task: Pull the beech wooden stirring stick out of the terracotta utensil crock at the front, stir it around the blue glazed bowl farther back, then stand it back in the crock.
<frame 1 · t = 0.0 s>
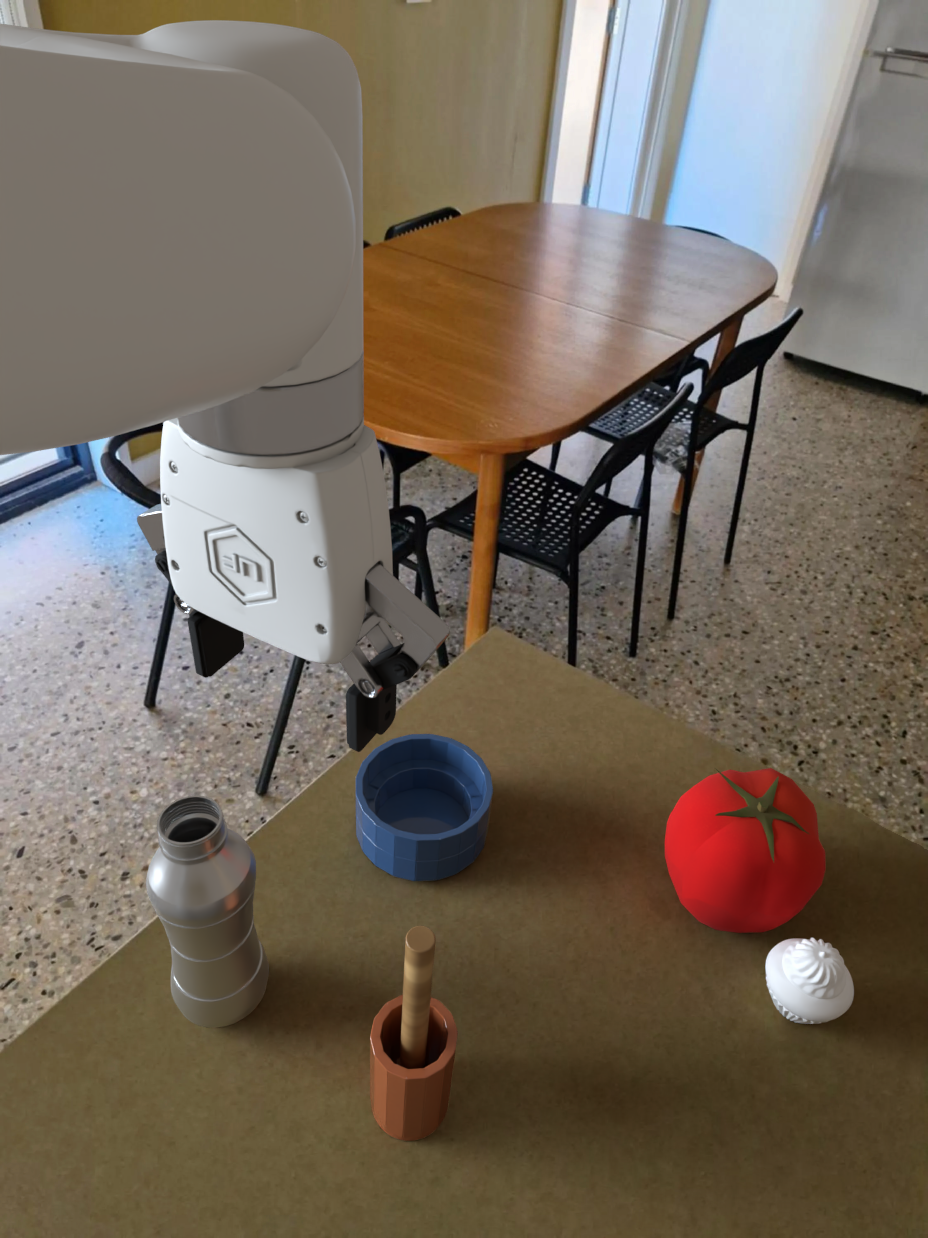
hand: (293, 696, 47), 29 cm above the counter, tool pointing down, fingers open, 9 cm apart
tomato: (725, 889, 74), on the counter
crock: (409, 1099, 59), on the counter
muffin: (793, 1004, 67), on the counter
stirring stick: (410, 1095, 59), point 1 cm above the counter, touching crock
bowl: (421, 829, 76), on the counter
silver metal bottle: (224, 996, 64), on the counter
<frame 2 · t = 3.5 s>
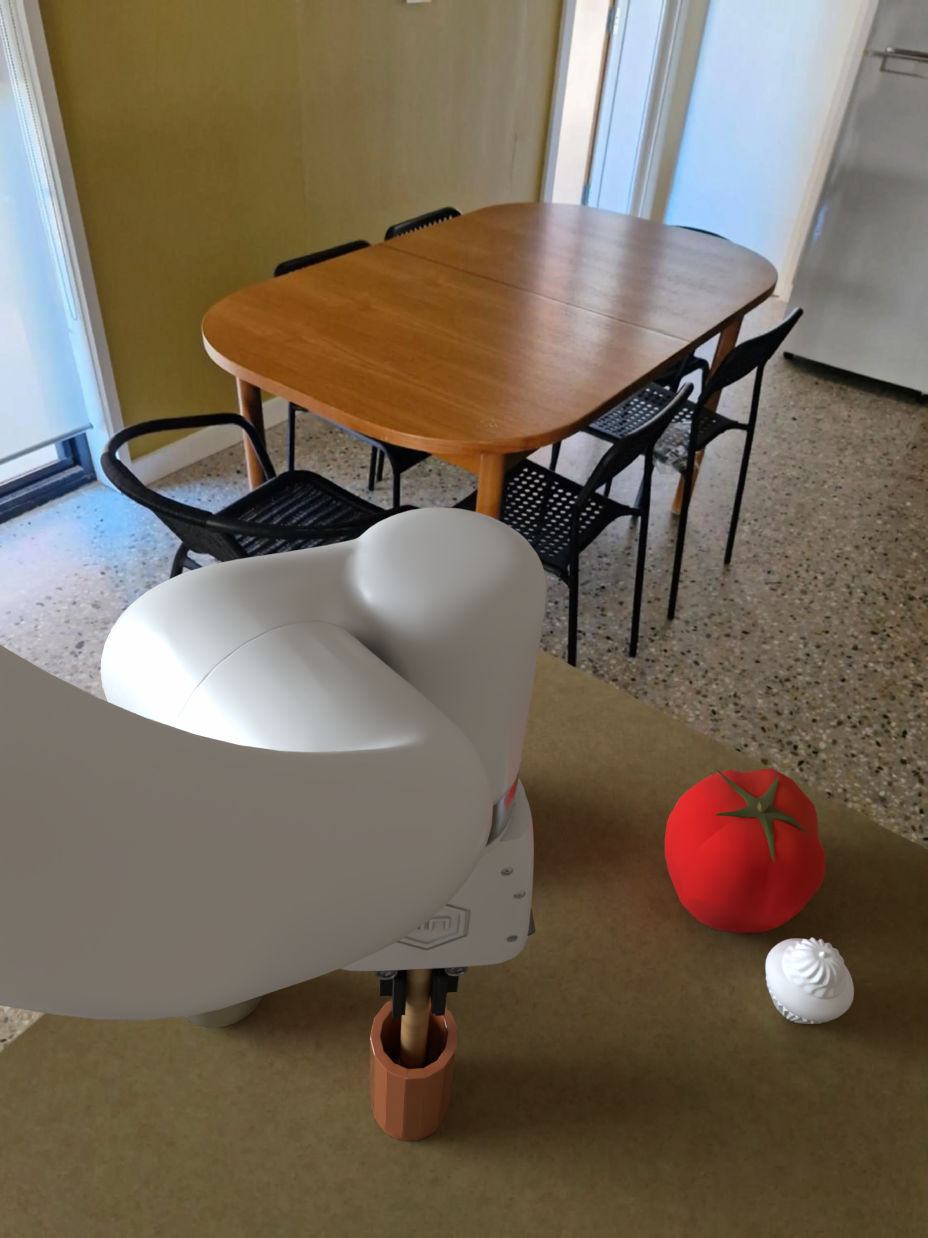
hand: (417, 991, 50), 14 cm above the counter, tool pointing down, fingers closed on stirring stick, 1 cm apart
stirring stick: (410, 1095, 59), point 1 cm above the counter, touching crock, gripper
everything else where it was.
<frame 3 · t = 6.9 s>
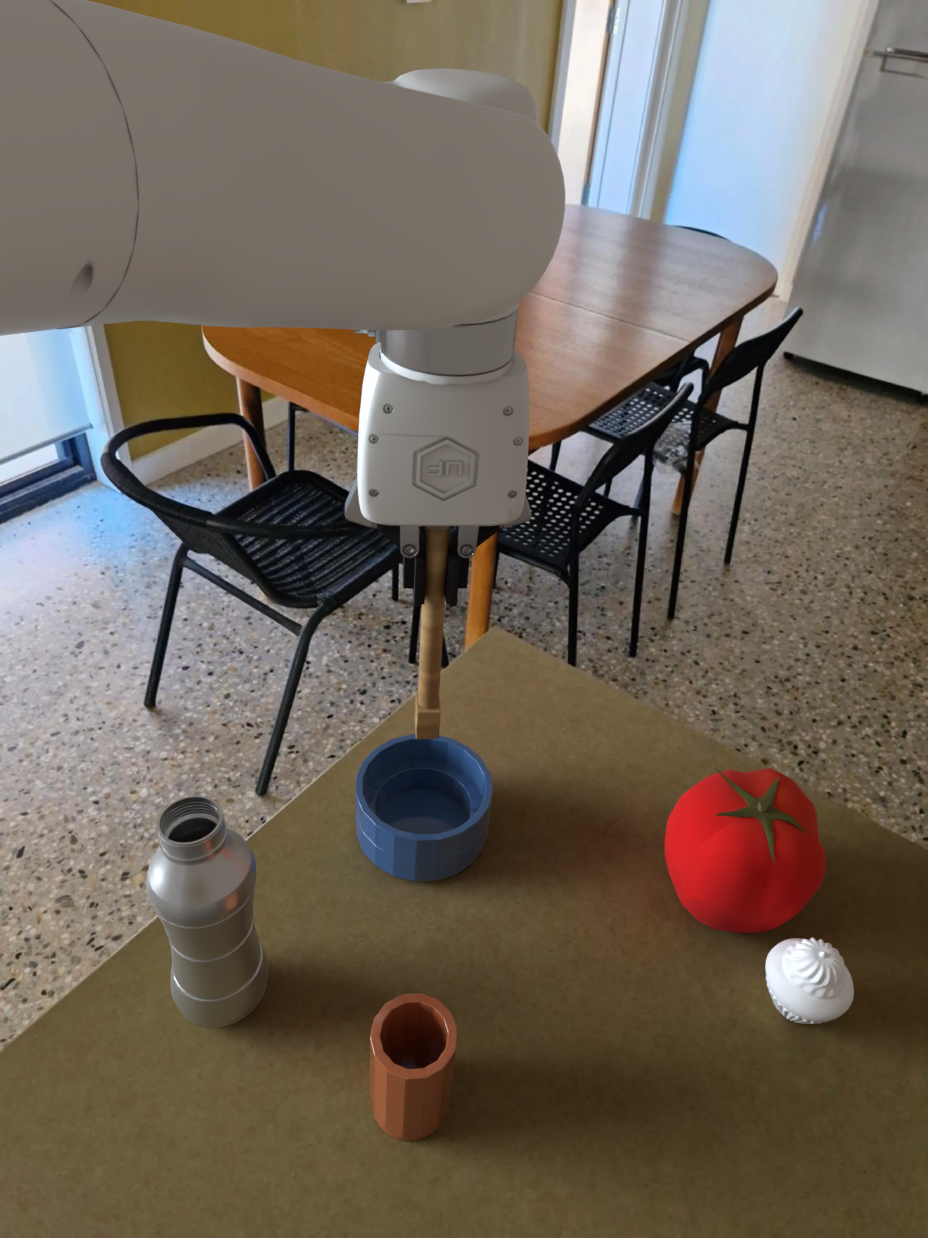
hand: (434, 592, 61), 25 cm above the counter, tool pointing down, fingers closed on stirring stick, 1 cm apart
stirring stick: (426, 729, 69), point 12 cm above the counter, touching gripper
everything else where it was.
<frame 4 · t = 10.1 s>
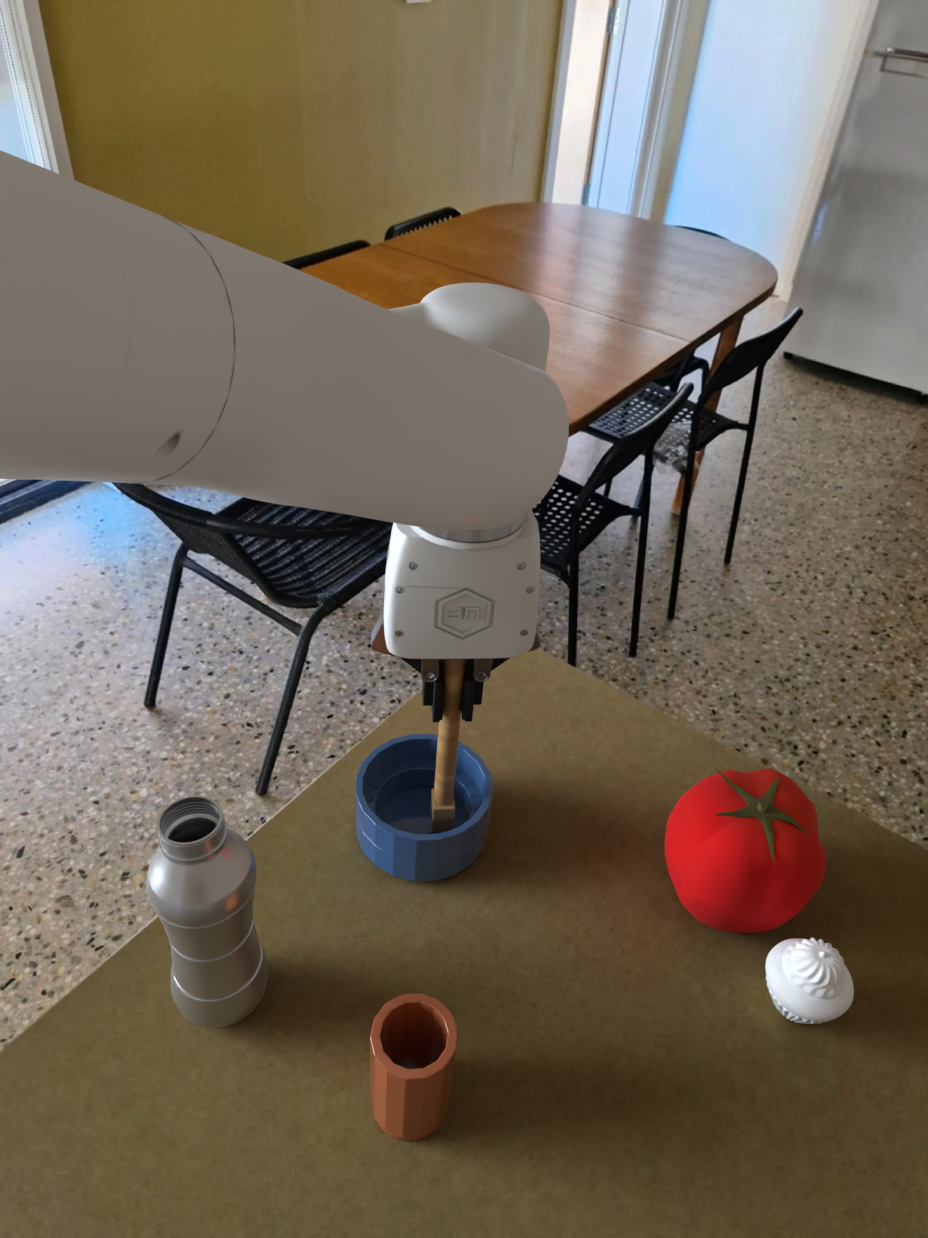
hand: (450, 707, 66), 15 cm above the counter, tool pointing down, fingers closed on stirring stick, 1 cm apart
stirring stick: (441, 821, 75), point 2 cm above the counter, touching gripper
everything else where it was.
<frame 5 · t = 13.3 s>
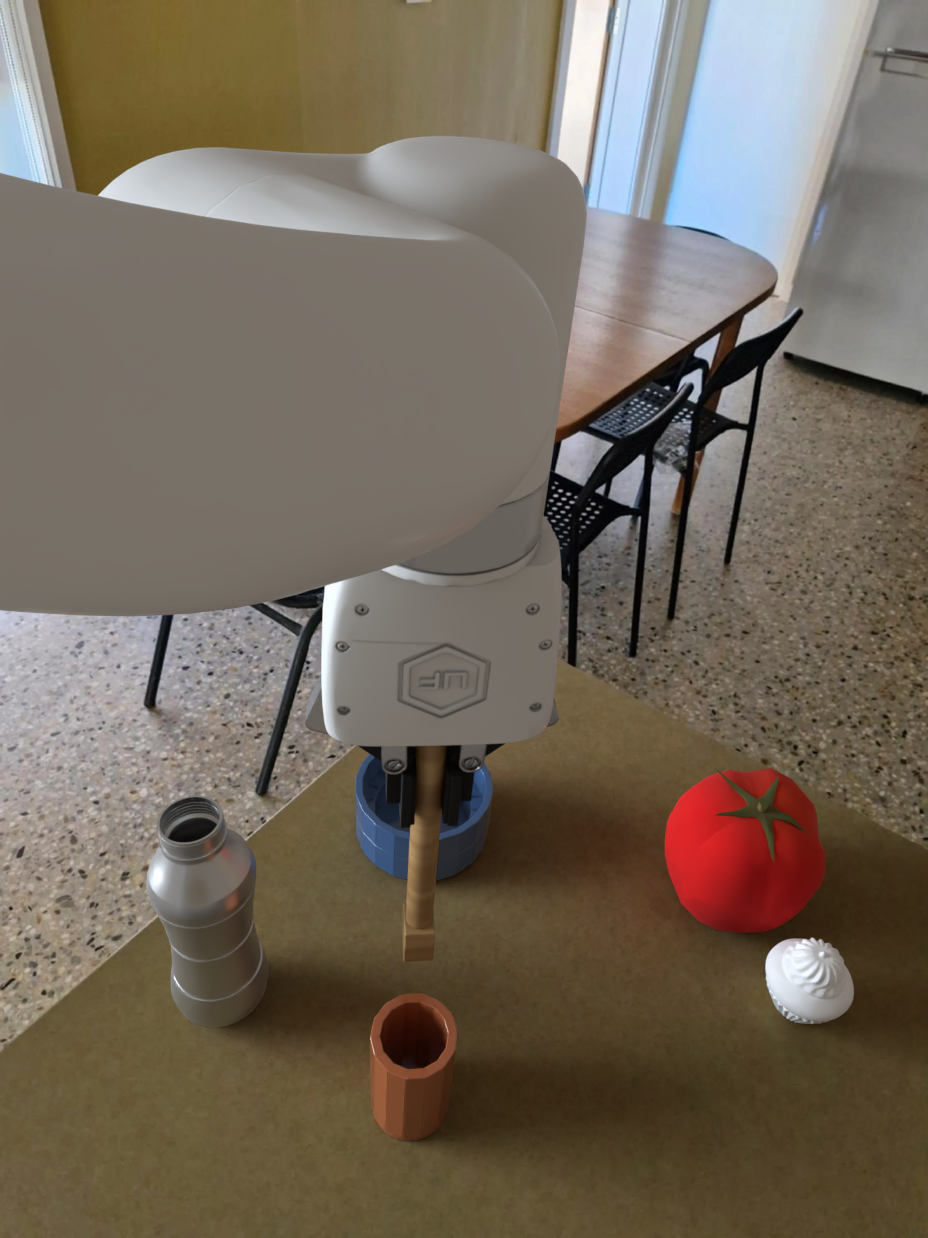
hand: (427, 803, 46), 26 cm above the counter, tool pointing down, fingers closed on stirring stick, 1 cm apart
stirring stick: (417, 945, 54), point 12 cm above the counter, touching gripper
everything else where it was.
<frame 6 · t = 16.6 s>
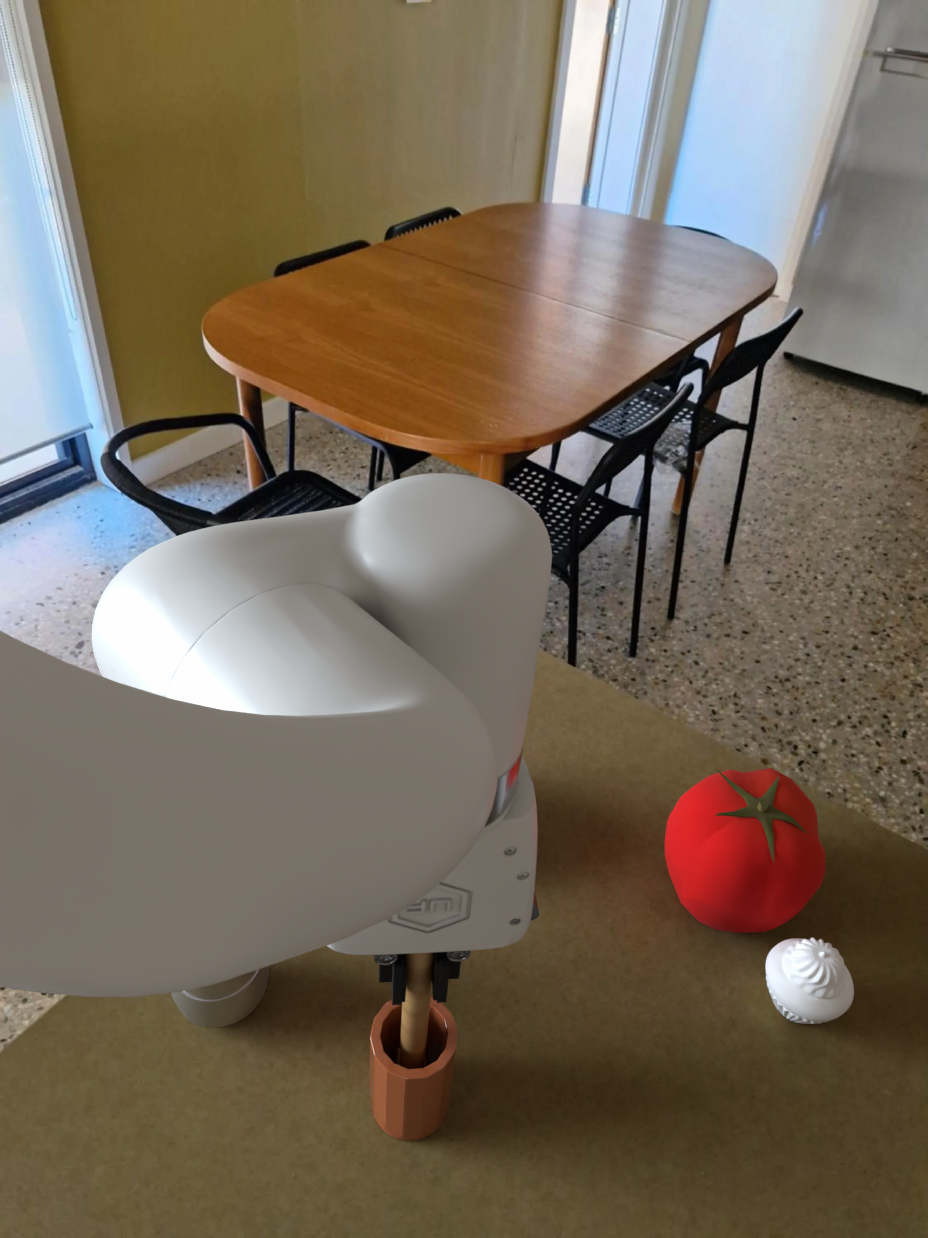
hand: (417, 977, 49), 16 cm above the counter, tool pointing down, fingers closed on stirring stick, 1 cm apart
stirring stick: (410, 1085, 58), point 2 cm above the counter, touching gripper
everything else where it was.
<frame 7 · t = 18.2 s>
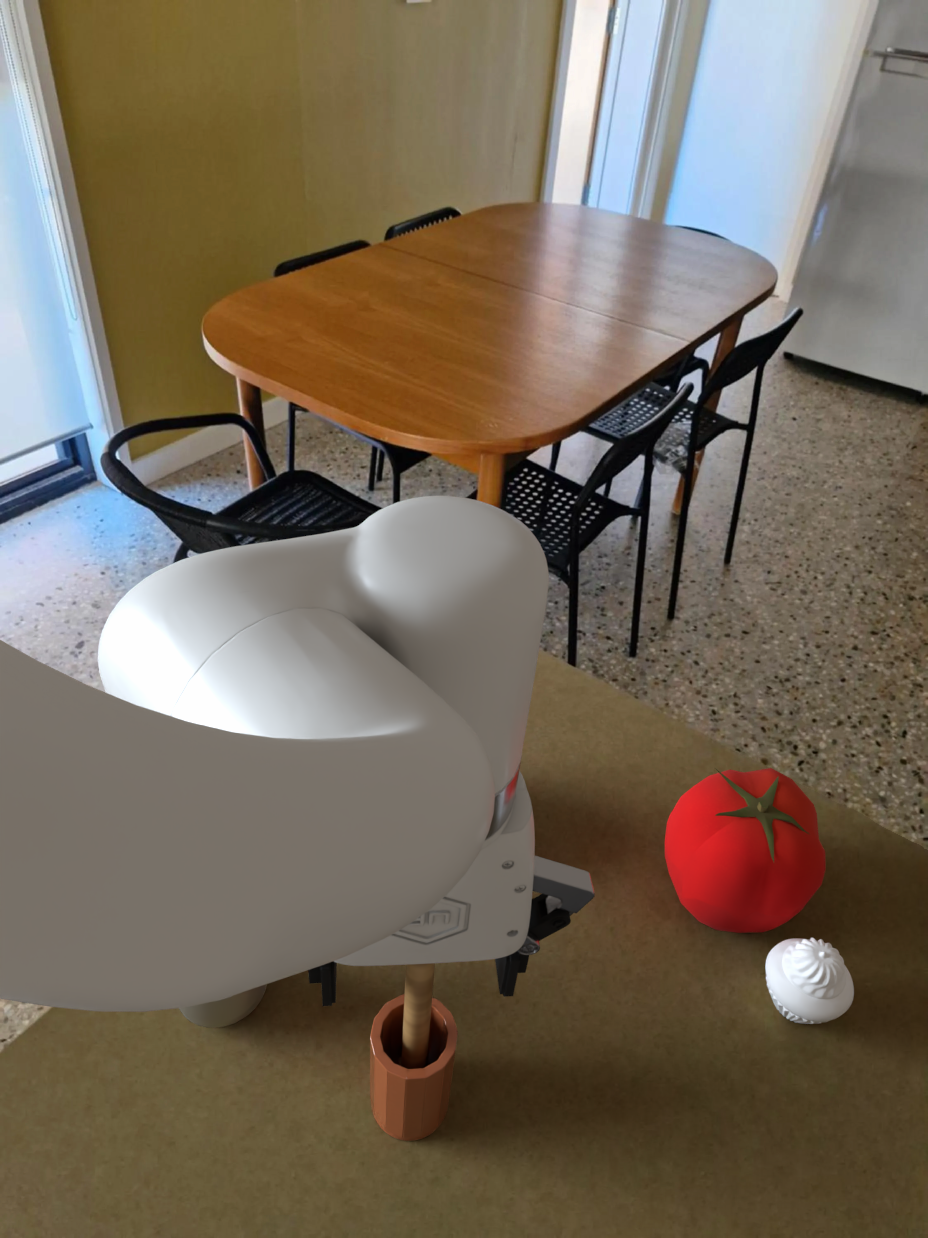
hand: (417, 976, 49), 16 cm above the counter, tool pointing down, fingers open, 9 cm apart
stirring stick: (411, 1093, 59), point 1 cm above the counter, touching crock
everything else where it was.
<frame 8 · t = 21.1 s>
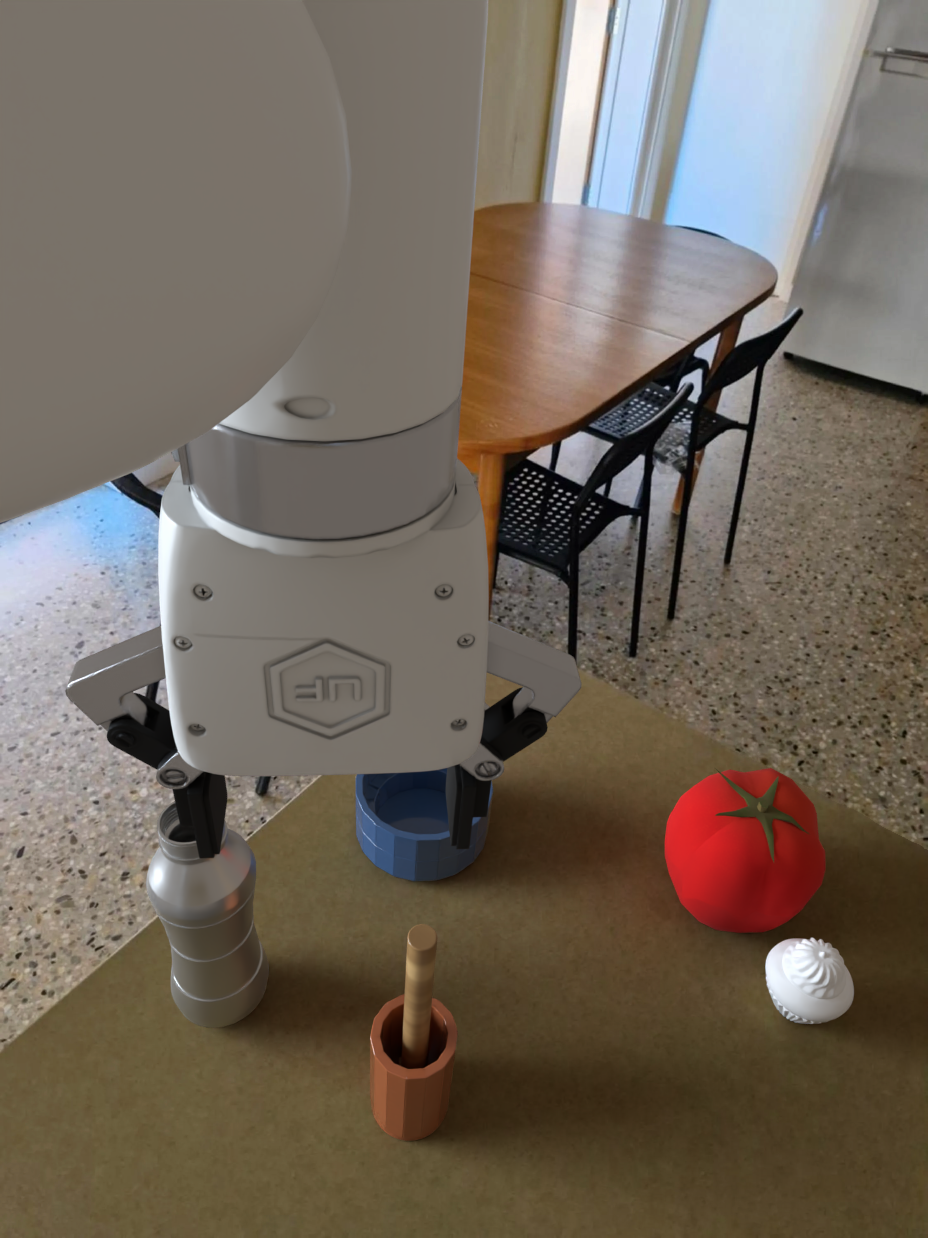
hand: (337, 824, 36), 33 cm above the counter, tool pointing down, fingers open, 9 cm apart
nothing on the counter moved.
at the end: stirring stick 0.1 cm off-centre in the crock, point 0.6 cm above the crock's base; stirring stick tilted 0°; stirring stick touching crock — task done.
